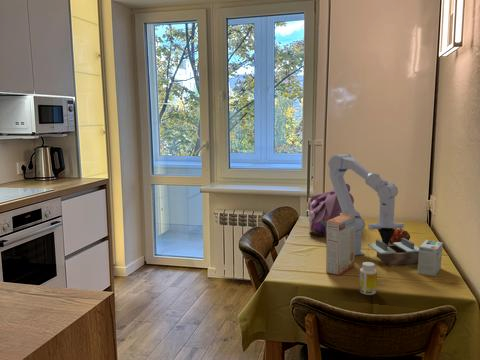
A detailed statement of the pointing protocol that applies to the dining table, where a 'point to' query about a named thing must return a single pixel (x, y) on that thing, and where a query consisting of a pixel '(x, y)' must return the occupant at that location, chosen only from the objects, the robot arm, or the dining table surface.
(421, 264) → the light bulb box
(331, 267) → the cracker box
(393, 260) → the walnut box
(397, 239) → the dragon fruit
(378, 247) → the lid left
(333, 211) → the purple cloth
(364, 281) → the supplement bottle
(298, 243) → the dining table surface
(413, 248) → the lid right
